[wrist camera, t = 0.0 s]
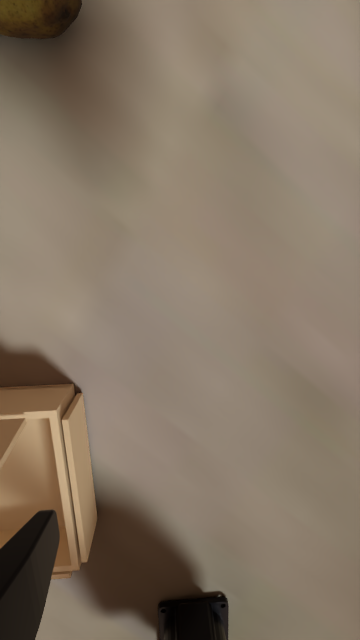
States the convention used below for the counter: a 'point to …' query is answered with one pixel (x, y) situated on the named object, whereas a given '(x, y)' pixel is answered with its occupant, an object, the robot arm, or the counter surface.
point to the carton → (49, 469)
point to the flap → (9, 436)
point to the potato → (37, 17)
